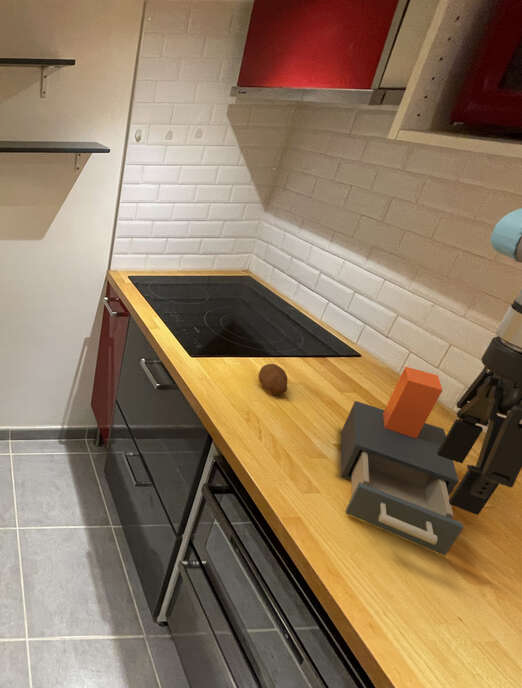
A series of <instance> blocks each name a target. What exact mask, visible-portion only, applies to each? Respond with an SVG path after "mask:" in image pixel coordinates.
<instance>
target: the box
mask: <svg viewBox="0 0 522 688" xmlns="http://www.w3.org/2000/svg"><path fill="white" fill-rule="evenodd" d="M442 393H443V387H442V383H441V380H440V378H439V375H438V374H435V373H431V372H427V371H424V370H420V369H416V368H412V367H408V366H405V367H404V368H403V370H402V373H401V375H400V377H399V378H398V380H397V383H396V385H395V387H394V389H393V391H392V394H391V395H390V396H389V397H390V398H389V400H388V402H387V403H386V405H385V407H384V409H383V410H384V412H383V417H384V426H385V428H386V429H389V430H392V431H395V432H398V433H401V434H404V435H407V436H410V437H413V438H417V437H418V435H419V433H420V431H421V429H422V427H423V426H424V424H425V423H427V420H428V418H429V417H430V415H431V413H432V411H433V409H434V407H435V405H436V404H437V402H438V400H439V398H440V396H441V394H442Z"/></svg>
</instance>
